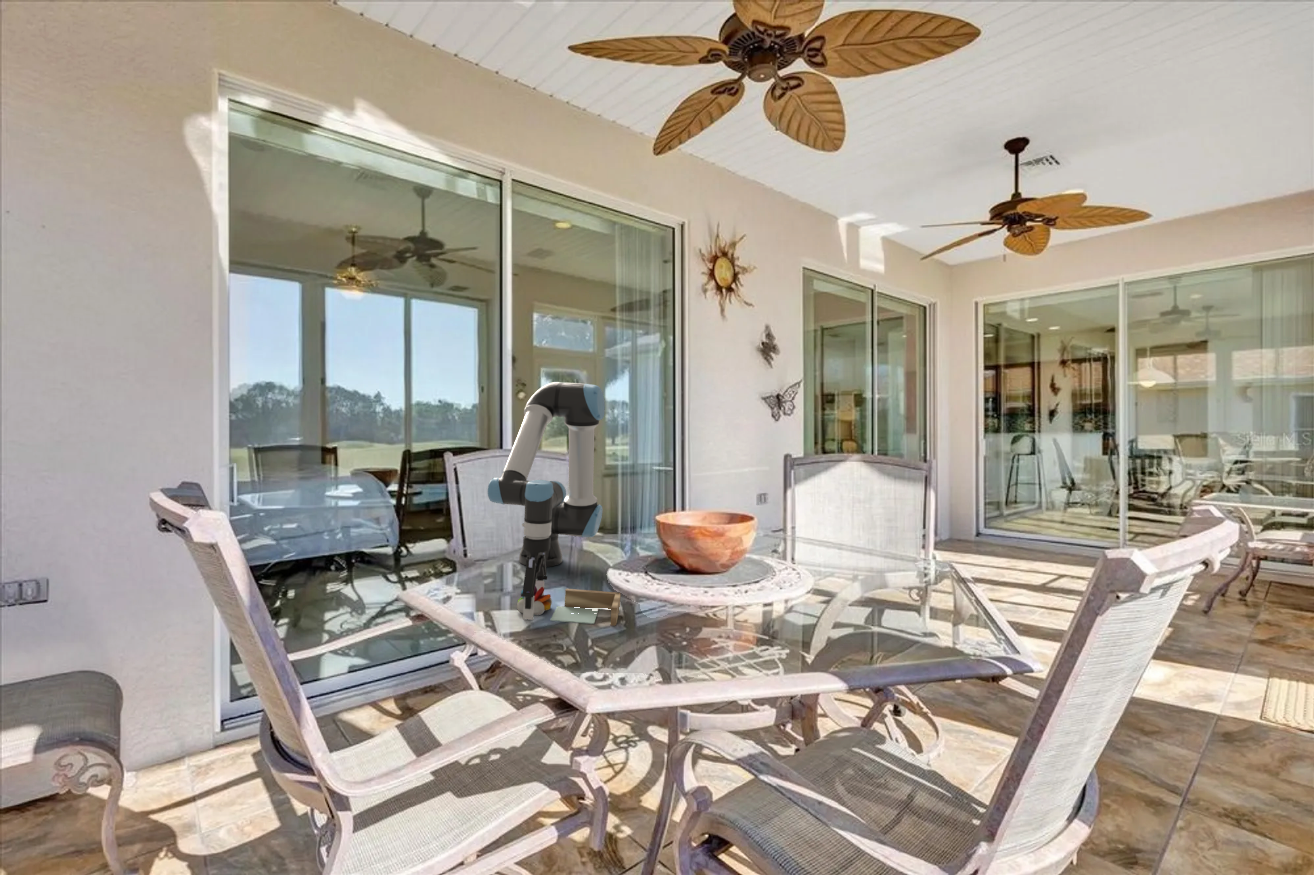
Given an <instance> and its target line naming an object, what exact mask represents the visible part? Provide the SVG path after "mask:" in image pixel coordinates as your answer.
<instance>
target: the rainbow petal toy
mask: <svg viewBox="0 0 1314 875" xmlns="http://www.w3.org/2000/svg"><path fill="white" fill-rule="evenodd" d="M543 592H544V593H545V586H544V587H541V588H540V589H539V590H538V591H537V588H536V586H535V589H534V616H541V615H542V614H543V613H544V612H545V611H548V610H551V607H552V605H553V604H552V603H553V600H552V596H551V594H549V593H547V594H544V595H542V594H543ZM522 593H523V589H522V590H521V591H520V595H521V594H522ZM529 593H530V592H529ZM523 607H524V597H520V598H519V599H518V600H517V604H516V608H517V610H518V612H519V613H521V614H523Z"/></svg>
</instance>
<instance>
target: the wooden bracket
mask: <svg viewBox="0 0 1314 875" xmlns="http://www.w3.org/2000/svg"><path fill="white" fill-rule="evenodd" d="M621 596H622V595H621V592H616V591H615V592H614V591H601V590H590V589H589V590H588V589H574V588H565V590H564V606H563V607H580V608H608V609H611V611H610V626H617V623H618V618H619V615H618V613H619V614H620V611H619V607H620V608H621Z"/></svg>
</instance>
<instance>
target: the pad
mask: <svg viewBox="0 0 1314 875" xmlns="http://www.w3.org/2000/svg"><path fill="white" fill-rule="evenodd" d="M597 612H599V610H598V611H592V609H585V608H574V607H564V606H560V605H559V606H556V609H555V610H554V612H553V613H552V616H551V618H550V621H551V622H564V623H577V624H589V625H590V624H591V625H594V624H595V622H596V619H597V616H598V613H597ZM571 613H574V614H571ZM578 613H579V614H578ZM594 613H597V614H594Z"/></svg>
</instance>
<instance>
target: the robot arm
mask: <svg viewBox="0 0 1314 875" xmlns="http://www.w3.org/2000/svg"><path fill="white" fill-rule="evenodd" d="M605 402H606V401H605V396H604V392H603V391H602V389H601V387H600V386H599V385H596V384H591V383H580V382H561V381H553V382H549V383H547V384H545V385H544V386H543V385H542V386H541V387H540V388H539V389H537V390H536V391H535V392H534V394H532V395H531V397H530V398H529V399H528V401H527V402H526V404H525V406H524V410H523V415H524V417H523V421H522V423H521V426H520V428H519V431H518V433H517V435H516V438H515V441H514V444H513V446H512V448H511V452H510V453H509V456H508V459H507V461H506V464H505V466H504V468H503V472H502V474H501V476H500V477H493V478H492V479H490V481H489V483H488V486H487V497H488V500H489V501H490V502H492V503H494V504H501V505H510V506H511V505H512V506H524V520H523V521H524V523H522V524H521V525H522V527H524V528H523V535H524V536H523V538H522V539H523V540H522V547H521V549H520V552H519V556H518V558H519V559H518V562H519V563H520V564H521V565H524V566H525V571H524V572H525V573H524V580H523V585H522V590H523V593H522V594H521V593H520V598H522V597H524V607H523V613H522V619H523V620H527V619H528V620H530V621H533V620H534V616H535V615H534V589H535V586H536V588H537V591H538V590H539V589H540V588H541V587H544V588H545V581H547V580H548V575H547V568H549V567H555V566H558V565H560V564H561V563H562V562H563V552H562V549H561V546H560V543H559V535H560V536H562V535H563V536H572V537H578V538H593V537H595V536H596V535H597V533H598V531H599V529H600V524H601V522H602V516H603V506H602V505H601V504H598V497H597V496H595V495H594V476H595V475H594V474H595V473H594V471H595V470H594V468H595V467H594V466H595V464H594V463H595V462H594V461H595V429H596V428H597V427H598V426H599V424H600V421H601V420H603V419H604V417H605V408H606V405H605ZM554 417H558V418H560V417H561V418H564V425H566V426H567V428H568V494H567V490H566V489H567V488H566V487H565V485H564V484H562V482H560V481H558V480H550V481H549V480H544V479H533V480H528V477H529V474H530V472H531V469H532V467H533V463H534V461H535V458H536V456H537V452H538V450H539V447H540V445H541V442H542V439H543V436H544V434H545V430H546V428H547V427H548V426H547V425H549V424H550V423H551V422H552V421H553V418H554ZM529 592H530V593H529ZM542 595H545V591H544V592H543V594H542Z"/></svg>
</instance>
